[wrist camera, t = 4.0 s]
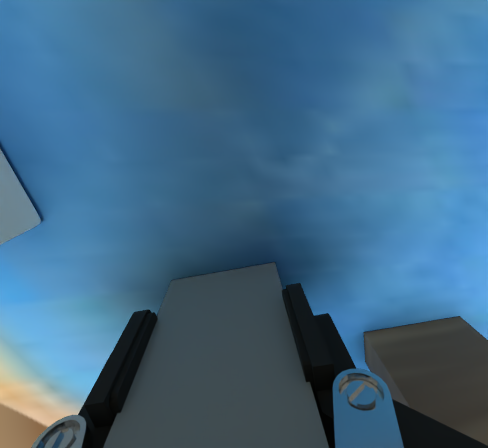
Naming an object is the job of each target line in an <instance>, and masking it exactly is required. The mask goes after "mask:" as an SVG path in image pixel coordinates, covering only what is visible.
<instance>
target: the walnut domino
mask: <svg viewBox="0 0 488 448" xmlns="http://www.w3.org/2000/svg"><path fill="white" fill-rule="evenodd" d="M364 347H365V362H366V364H367V366H368V368H369V369H370V371H371V372H372V373H374V374H376V375H377V376H378V377H380V378H381V379H382V380H383V381H384V382H385V383H386V385H387V386H388V389H389V391H390V394H391V398H392V399H394V400H396V401H398V402H400V403H402V404H404V405H406V406H408V407H410V408H412V409H414V410H416V411H418V412H420V413H422V414H424V415H426V416H428V417H430V418H432V419H434V420H436V421H439V422H441V423H443V424H445V425H447V426H449V427H451V428H453V429H455V430H457V431H459V432H461V433H463V434H465V435H467V436H469V437H471V438H473V439H475V440H477V441H479V442H481V443H483V444H485V445H487V446H488V340H487V339H486V338H485V337H483V336H482V335H481V334H480V333H479V332H478V331H476V330H475V329H474V328H473V327H472V326H471V325H469V324H468V323H467V322H466V321H465V320H463V319H462V318H461V317H460V316H458V317H452V318H446V319H440V320H434V321H428V322H422V323H416V324H411V325H405V326H399V327H393V328H387V329H381V330H375V331H369V332H364Z"/></svg>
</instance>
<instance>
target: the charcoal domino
mask: <svg viewBox="0 0 488 448" xmlns="http://www.w3.org/2000/svg"><path fill="white" fill-rule="evenodd" d="M282 290H283V288H282V285H281V281H280V278H279V275H278V271H277V268H276V264H275V262H273V263H267V264H262V265H256V266H250V267H245V268H239V269H233V270H228V271H222V272H216V273H211V274H205V275H199V276H194V277H188V278H182V279H176V280H171V282H170V285H169V287H168V290H167V292H166V295H165V297H164V299H163V302H162V304H161V307H160V309H159V312H158V314H157V319H158V320H157V322H156V325H155V327H154V330H153V332H152V335H151V337H150V340H149V342H148V345H147V347H146V350H145V352H144V355H143V358H142V360H141V363H140V365H139V368H138V370H137V373H136V375H135V378H134V380H133V383H132V385H131V388H130V390H129V393H128V396H127V398H126V401H125V403H124V406H123V408H122V411H121V413H117V415H116V417H115V420H114V422H113V425H112V427H111V430H110V432H109V435H108V437H107V440H106V442H105V444H104V447H103V448H329V446H328V442H327V439H326V435H325V432H324V429H323V425H322V422H321V418H320V415H319V411H318V408H317V405H316V401H315V398H314V394H313V391H312V388H311V384H310V382H306V380H305V377H304V373H303V370H302V366H301V362H300V359H299V355H298V351H297V348H296V344H295V341H294V337H293V333H292V330H291V326H290V322H289V319H288V315H287V312H286V308H285V304H284V301H283V297H282Z"/></svg>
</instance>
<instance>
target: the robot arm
mask: <svg viewBox="0 0 488 448" xmlns="http://www.w3.org/2000/svg"><path fill="white" fill-rule="evenodd" d="M282 297H283V301H284V304H285V308H286V312H287V315H288V319H289V322H290V326H291V330H292V333H293V337H294V341H295V344H296V348H297V351H298V355H299V359H300V362H301V366H302V370H303V373H304V377H305V380H306V382H310V384H311V388H312V391H313V394H314V398H315V401H316V405H317V408H318V411H319V415H320V418H321V422H322V425H323V429H324V432H325V435H326V439H327V442H328V446H329V448H488V446H487V445H485V444H483V443H481V442H479V441H477V440H475V439H473V438H471V437H469V436H467V435H465V434H463V433H461V432H459V431H457V430H455V429H453V428H451V427H449V426H447V425H445V424H443V423H441V422H439V421H436V420H434V419H432V418H430V417H428V416H426V415H424V414H422V413H420V412H418V411H416V410H414V409H412V408H410V407H408V406H406V405H404V404H402V403H400V402H398V401H396V400H394V399H392V398H391V394H390V391H389V389H388V386H387V385H386V383H385V382H384V381H383V380H382V379H381V378H380V377H378V376H377V375H376V374H374V373H372V372H370V371H367V370H364V369H358V368H357V369H356V367H355V365H354V363H353V361H352V359H351V357H350V355H349V353H348V351H347V349H346V347H345V345H344V343H343V341H342V339H341V337H340V335H339V333H338V331H337V329H336V327H335V325H334V323H333V321H332V319H331V317H330V315H329V314H328V313H327V314H322V315H316V316H314V315H313V313H312V311H311V308H310V306H309V303H308V301H307V298H306V296H305V294H304V291H303V289H302V286H301V284H300V283H296V284H291V285H286V289H284V290H282ZM157 320H158V319H157V316H156V314H155V313H154V312H153V313H151V311H150V310H143V311H138V312H134V313H133V315H132V316H131V318H130V320H129V322H128V324H127V326H126V328H125V329H124V331H123V333H122V335H121V337H120V339H119V341H118V342H117V344H116V346H115V348H114V350H113V352H112V353H111V355H110V357H109V358H108V360H107V362H106V364H105V366H104V368H103V370H102V371H101V373H100V375H99V377H98V379H97V381H96V383H95V384H94V386H93V388H92V390H91V392H90V394H89V396H88V397H87V399H86V401H85V403H84V405H83V407H82V409H81V410H80V412H79V414H78V415H71V416H67V417H64V418H62V419H60V420H58V421H56V422H55V423H54V424H52V425H51V426H49V427H48V428H47V429H46V430H45V431H44V432H43V433H42V434H41V435H40V436H39V437H38V438H37V440H36V441H35V442H34V444H33V445H32V447H31V448H103V447H104V444H105V442H106V440H107V437H108V435H109V432H110V430H111V427H112V425H113V422H114V420H115V417H116V415H117V413H121V411H122V408H123V406H124V403H125V401H126V398H127V396H128V393H129V390H130V388H131V385H132V383H133V380H134V378H135V375H136V373H137V370H138V368H139V365H140V363H141V360H142V358H143V355H144V352H145V350H146V347H147V345H148V342H149V340H150V337H151V335H152V332H153V330H154V327H155V325H156V322H157Z"/></svg>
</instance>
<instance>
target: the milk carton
mask: <svg viewBox="0 0 488 448" xmlns="http://www.w3.org/2000/svg"><path fill="white" fill-rule="evenodd" d="M40 222H41V220H40V217H39V215H38V214H37V212H36V210H35V208H34V206H33V205H32V203H31V201H30V199H29V198H28V196H27V194H26V192H25V191H24V189H23V187H22V186H21V184H20V182H19V180H18V179H17V177H16V175H15V173H14V172H13V170H12V168H11V166H10V165H9V163H8V161H7V160H6V158H5V156H4V154H3V153H2V151H1V149H0V245H1V244H3V243H5V242H7V241H9V240H10V239H12V238H14V237H16V236H18V235H20V234H22V233H24V232H26V231H28V230H30V229H32V228H34V227H36V226H37V225H39V224H40Z"/></svg>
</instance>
